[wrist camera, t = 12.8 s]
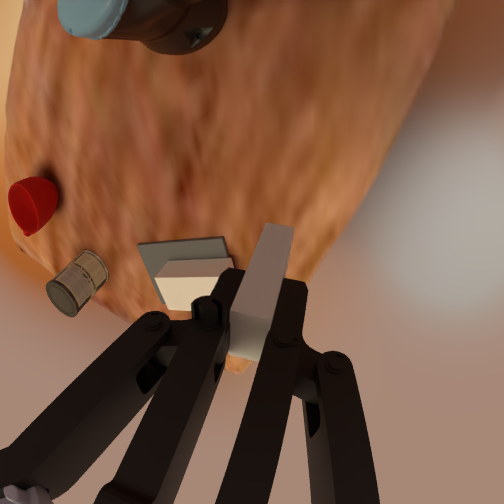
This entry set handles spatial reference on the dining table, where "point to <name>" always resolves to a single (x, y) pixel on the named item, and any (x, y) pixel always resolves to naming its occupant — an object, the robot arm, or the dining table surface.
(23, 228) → the ceramic cup
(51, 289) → the coffee can
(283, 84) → the dining table surface
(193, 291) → the cream block
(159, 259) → the charcoal mat
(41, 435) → the robot arm
